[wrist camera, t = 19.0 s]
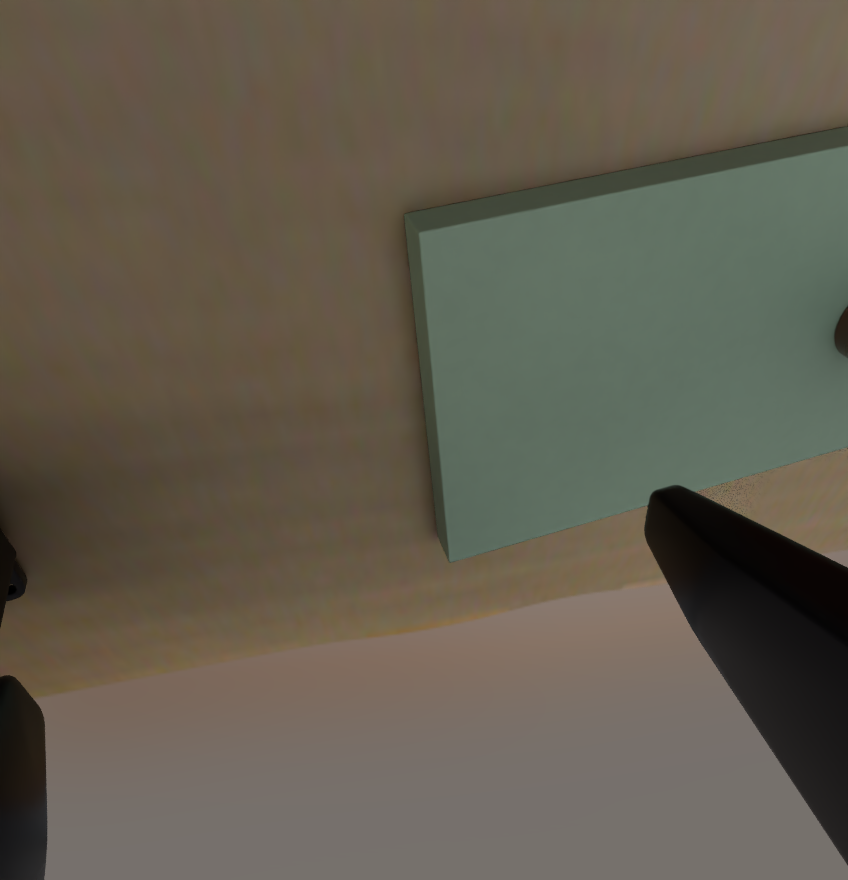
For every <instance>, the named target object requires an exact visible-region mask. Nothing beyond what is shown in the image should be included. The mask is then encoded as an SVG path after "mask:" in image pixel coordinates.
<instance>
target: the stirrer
mask: <svg viewBox="0 0 848 880" xmlns="http://www.w3.org/2000/svg"><path fill="white" fill-rule="evenodd" d="M834 338H835V346H836V348H837V350H838V351H839V353H841V354H842V355H843V356H845V357H846V358H848V307H847V308H846V310H845V311H844V313H843V314H842V316H841V318H840V320H839V322H838V324H837V327H836V331H835V337H834Z"/></svg>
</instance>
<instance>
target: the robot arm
mask: <svg viewBox="0 0 848 880" xmlns="http://www.w3.org/2000/svg"><path fill="white" fill-rule="evenodd" d="M644 531H645V537H646V541H647V543H648V545H649V547H650V549H651V551H652V553H653V555H654V557H655V559H656V561H657V563H658V565H659V567H660V569H661V571H662V573H663V575H664V576H665V578H666V580H667V582H668V584H669V586H670V588H671V590H672V592H673V594H674V596H675V598H676V600H677V602H678V604H679V605H680V608H681V609H682V611H683V613H684V615H685V617H686V619H687V621H688V623H689V624H690V626H691V628H692V630H693V631H694V633H695V634H696V636H697V638H698V639H699V641H700V643H701V644H702V646H703V647H704V649H705V650H706V652H707V653H708V654H709V656H710V658H711V659H712V661H713V662H714V664H715V665H716V667H717V668H718V670H719V671H720V673H721V674H722V676H723V677H724V679H725V680H726V682H727V683H728V685H729V686H730V688H731V689H732V691H733V693H734V694H735V696H736V697H737V699H738V700H739V701H740V703H741V705H742V706H743V707H744V709H745V711H746V712H747V714H748V715H749V717H750V718H751V719H752V721H753V723H754V724H755V726H756V727H757V729H758V730H759V732H760V733H761V735H762V736H763V738H764V739H765V741H766V742H767V744H768V745H769V747H770V749H771V750H772V752H773V753H774V755H775V756H776V758H777V759H778V761H779V762H780V763H781V765H782V767H783V768H784V770H785V771H786V773H787V774H788V776H789V777H790V779H791V780H792V782H793V783H794V785H795V786H796V788H797V789H798V791H799V792H800V794H801V795H802V797H803V798H804V800H805V801H806V803H807V804H808V806H809V807H810V809H811V810H812V812H813V814H814V815H815V816H816V818H817V820H818V821H819V823H820V824H821V826H822V827H823V829H824V830H825V831H826V833H827V834H828V836H829V838H830V839H831V840H832V842H833V844H834V845H835V847H836V848H837V850H838V851H839V853H840V854H841V856H842V857H843V859H844V860H845V862H846V863H847V865H848V568H847V567H845V566H843V565H841V564H839V563H837V562H835V561H833V560H831V559H829V558H827V557H825V556H823V555H821V554H819V553H817V552H815V551H813V550H811V549H809V548H807V547H805V546H803V545H801V544H799V543H797V542H795V541H793V540H791V539H789V538H787V537H785V536H783V535H781V534H779V533H777V532H775V531H772V530H770V529H768V528H766V527H764V526H762V525H760V524H758V523H756V522H754V521H752V520H750V519H748V518H746V517H744V516H742V515H740V514H738V513H736V512H734V511H732V510H730V509H728V508H726V507H724V506H722V505H720V504H718V503H716V502H714V501H712V500H710V499H708V498H706V497H704V496H702V495H700V494H698V493H696V492H694V491H692V490H690V489H688V488H686V487H683V486H681V485H671V486H668V487H664V488H661V489H657V490H655V491H653V492H652V494H651V495H650V498H649V503H648V509H647V515H646V521H645V528H644ZM15 558H16V551H15V549H14V548H13V546H12V545H11V543H10V542H9V540H8V539H7V537H6V536H5V535H4V533H3V532H2V530H1V529H0V627H1V622H2V618H3V613H4V608H5V604H6V601H10V600H13V599H16V598H19V597H21V596H22V595H23V594H24V592H25V589H26V584H27V577H26V575H25V573H24V572H23V571H22V569H21V568H20V566H19V565H18V563H17V562H16V560H15ZM10 584H13V585H10ZM46 850H47V793H46V752H45V722H44V717H43V714H42V711H41V709H40V707H39V706H38V704H37V703H36V702H35V701H34V699H33V698H32V697H31V696H30V694H29V693H28V692H27V691H26V689H25V688H24V687H23V686H22V685H21V683H20V682H19V681H18V680H17V679H16V678H15V677H13V676H10V675H6V676H2V677H0V880H44V876H45V865H46Z"/></svg>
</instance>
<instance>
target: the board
mask: <svg viewBox="0 0 848 880" xmlns="http://www.w3.org/2000/svg"><path fill="white" fill-rule="evenodd" d="M404 220H405V230H406V239H407V249H408V258H409V268H410V277H411V287H412V297H413V306H414V316H415V325H416V335H417V344H418V354H419V363H420V373H421V382H422V392H423V401H424V411H425V420H426V430H427V439H428V449H429V458H430V468H431V477H432V487H433V496H434V506H435V515H436V525H437V534H438V538H439V540H440V543H441V545H442V547H443V550H444V552H445V554H446V556H447V559H448V561H449V562H450V563H451V562H455V561H458V560H462V559H465V558H468V557H472V556H475V555H479V554H482V553H486V552H489V551H492V550H496V549H499V548H503V547H506V546H510V545H513V544H517V543H520V542H523V541H527V540H530V539H534V538H537V537H541V536H544V535H547V534H551V533H554V532H558V531H561V530H565V529H568V528H571V527H575V526H578V525H582V524H585V523H589V522H592V521H596V520H599V519H602V518H606V517H609V516H613V515H616V514H620V513H623V512H626V511H630V510H633V509H637V508H640V507H644V506H647V505H648V503H649V498H650V495H651V494H652V492H653V491H655V490H657V489H661V488H664V487H668V486H671V485H681V486H683V487H686V488H688V489H690V490H692V491H694V492H695V491H699V490H702V489H706V488H709V487H712V486H716V485H719V484H723V483H726V482H730V481H733V480H736V479H740V478H743V477H747V476H750V475H754V474H757V473H761V472H764V471H767V470H771V469H774V468H778V467H781V466H785V465H788V464H791V463H795V462H798V461H802V460H805V459H809V458H812V457H815V456H819V455H822V454H826V453H829V452H833V451H836V450H840V449H843V448H846V447H848V358H846V357H845V356H843V355H842V354H841V353H839V351H838V350H837V348H836V346H835V338H834V337H835V331H836V327H837V324H838V322H839V320H840V318H841V316H842V314H843V313H844V311H845V310H846V308H847V307H848V126H847V127H842V128H837V129H832V130H827V131H822V132H817V133H812V134H806V135H801V136H796V137H791V138H786V139H781V140H776V141H771V142H766V143H761V144H756V145H751V146H746V147H740V148H735V149H730V150H725V151H720V152H715V153H710V154H705V155H700V156H695V157H690V158H685V159H680V160H675V161H669V162H664V163H659V164H654V165H649V166H644V167H639V168H634V169H629V170H624V171H619V172H614V173H609V174H603V175H598V176H593V177H588V178H583V179H578V180H573V181H568V182H563V183H558V184H553V185H548V186H543V187H538V188H532V189H527V190H522V191H517V192H512V193H507V194H502V195H497V196H492V197H487V198H482V199H477V200H472V201H466V202H461V203H456V204H451V205H446V206H441V207H436V208H431V209H426V210H421V211H416V212H411V213H406V214H404Z"/></svg>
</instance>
